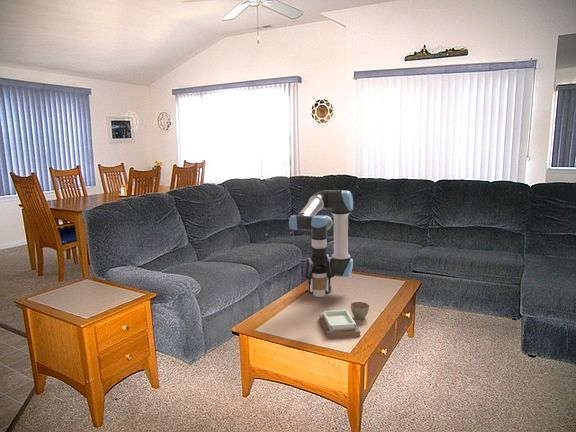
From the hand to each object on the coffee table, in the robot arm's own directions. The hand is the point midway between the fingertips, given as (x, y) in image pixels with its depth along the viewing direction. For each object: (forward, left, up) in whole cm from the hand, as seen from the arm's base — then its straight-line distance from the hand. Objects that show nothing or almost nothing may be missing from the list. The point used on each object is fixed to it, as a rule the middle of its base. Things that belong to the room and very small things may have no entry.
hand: (319, 290), depth 215 cm
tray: (+3, +9, -17) cm, 19 cm away
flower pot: (-7, +23, -19) cm, 31 cm away
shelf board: (+3, +9, -19) cm, 22 cm away
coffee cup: (0, 0, -2) cm, 2 cm away
